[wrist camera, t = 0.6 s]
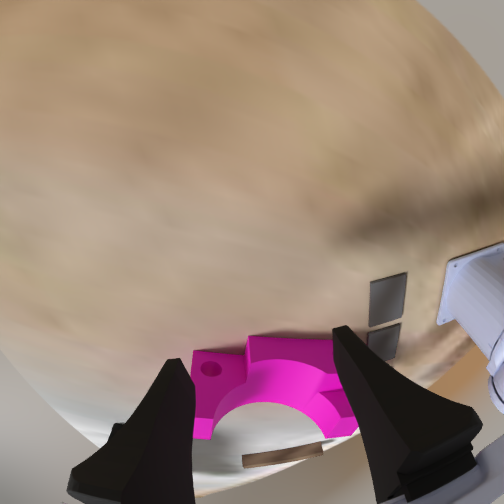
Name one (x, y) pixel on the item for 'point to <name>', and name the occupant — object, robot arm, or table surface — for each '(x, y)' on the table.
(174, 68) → the table surface
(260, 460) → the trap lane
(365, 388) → the robot arm
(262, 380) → the toy block
